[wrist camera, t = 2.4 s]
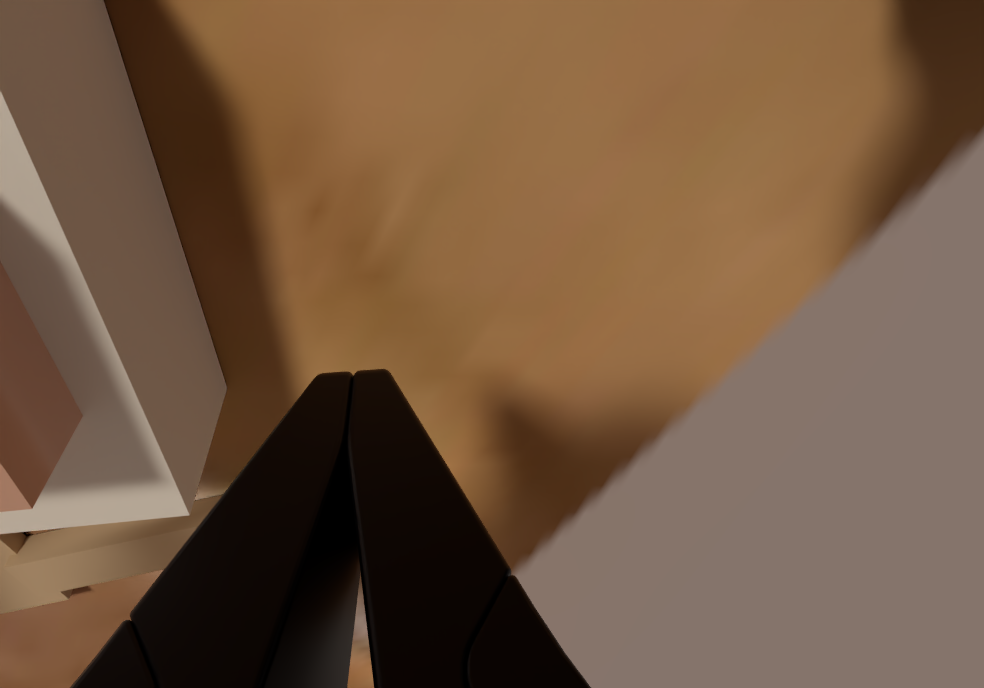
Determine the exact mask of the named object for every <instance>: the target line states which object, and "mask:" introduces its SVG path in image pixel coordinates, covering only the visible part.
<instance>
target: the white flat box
mask: <svg viewBox="0 0 984 688" xmlns="http://www.w3.org/2000/svg"><path fill="white" fill-rule="evenodd" d="M0 261H1V263H2V265H3V267H4V269H5V271H6V273H7V274H8V276H9V278H10V280H11V282H12V284H13V286H14V288H15V289H16V291H17V293H18V295H19V297H20V299H21V301H22V303H23V304H24V306H25V308H26V310H27V312H28V314H29V316H30V318H31V319H32V321H33V323H34V325H35V327H36V329H37V331H38V333H39V334H40V336H41V338H42V340H43V342H44V344H45V346H46V348H47V349H48V351H49V353H50V355H51V357H52V359H53V361H54V363H55V364H56V366H57V368H58V370H59V372H60V374H61V376H62V378H63V379H64V381H65V383H66V385H67V387H68V389H69V391H70V393H71V394H72V396H73V398H74V400H75V402H76V404H77V406H78V408H79V409H80V411H81V413H82V415H83V417H82V419H81V421H80V422H79V424H78V426H77V428H76V430H75V432H74V433H73V435H72V437H71V439H70V441H69V443H68V444H67V446H66V448H65V450H64V452H63V454H62V455H61V457H60V459H59V461H58V463H57V465H56V466H55V468H54V470H53V472H52V474H51V476H50V477H49V479H48V481H47V483H46V485H45V487H44V488H43V490H42V492H41V494H40V496H39V497H38V499H37V501H36V503H35V505H34V507H33V508H32V509H26V510H16V511H5V512H0V534H7V533H17V532H27V531H37V530H47V529H57V528H67V527H77V526H87V525H97V524H108V523H118V522H128V521H138V520H148V519H158V518H168V517H178V516H188V515H190V513H191V509H192V506H193V503H194V499H195V496H196V493H197V489H198V486H199V482H200V479H201V476H202V472H203V469H204V465H205V462H206V459H207V455H208V452H209V448H210V445H211V442H212V438H213V435H214V431H215V428H216V425H217V421H218V418H219V414H220V411H221V408H222V404H223V401H224V398H225V394H226V391H227V386H226V383H225V380H224V377H223V373H222V370H221V367H220V364H219V361H218V358H217V355H216V351H215V348H214V345H213V342H212V339H211V336H210V333H209V330H208V326H207V323H206V320H205V317H204V314H203V311H202V308H201V304H200V301H199V298H198V295H197V292H196V289H195V286H194V282H193V279H192V276H191V273H190V270H189V267H188V264H187V260H186V257H185V254H184V251H183V248H182V245H181V242H180V239H179V235H178V232H177V229H176V226H175V223H174V220H173V217H172V213H171V210H170V207H169V204H168V201H167V198H166V195H165V191H164V188H163V185H162V182H161V179H160V176H159V173H158V169H157V166H156V163H155V160H154V157H153V154H152V151H151V148H150V144H149V141H148V138H147V135H146V132H145V129H144V126H143V122H142V119H141V116H140V113H139V110H138V107H137V104H136V100H135V97H134V94H133V91H132V88H131V85H130V82H129V78H128V75H127V72H126V69H125V66H124V63H123V60H122V57H121V53H120V50H119V47H118V44H117V41H116V38H115V35H114V31H113V28H112V25H111V22H110V19H109V16H108V13H107V9H106V6H105V3H104V0H0Z"/></svg>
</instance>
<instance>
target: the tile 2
mask: <svg viewBox="0 0 984 688" xmlns="http://www.w3.org/2000/svg"><path fill="white" fill-rule="evenodd" d="M82 417H83V415H82V413H81V411H80V409H79V408H78V406H77V404H76V402H75V400H74V398H73V396H72V394H71V393H70V391H69V389H68V387H67V385H66V383H65V381H64V379H63V378H62V376H61V374H60V372H59V370H58V368H57V366H56V364H55V363H54V361H53V359H52V357H51V355H50V353H49V351H48V349H47V348H46V346H45V344H44V342H43V340H42V338H41V336H40V334H39V333H38V331H37V329H36V327H35V325H34V323H33V321H32V319H31V318H30V316H29V314H28V312H27V310H26V308H25V306H24V304H23V303H22V301H21V299H20V297H19V295H18V293H17V291H16V289H15V288H14V286H13V284H12V282H11V280H10V278H9V276H8V274H7V273H6V271H5V269H4V267H3V265H2V263H1V261H0V512H5V511H16V510H26V509H32V508H33V507H34V505H35V503H36V501H37V499H38V497H39V496H40V494H41V492H42V490H43V488H44V487H45V485H46V483H47V481H48V479H49V477H50V476H51V474H52V472H53V470H54V468H55V466H56V465H57V463H58V461H59V459H60V457H61V455H62V454H63V452H64V450H65V448H66V446H67V444H68V443H69V441H70V439H71V437H72V435H73V433H74V432H75V430H76V428H77V426H78V424H79V422H80V421H81V419H82Z"/></svg>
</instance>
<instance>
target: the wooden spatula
mask: <svg viewBox="0 0 984 688" xmlns="http://www.w3.org/2000/svg"><path fill="white" fill-rule="evenodd" d="M221 497H222V495H219V496H215V497H210V498H205V499H201V500H196V501H194V503H193V506H192V509H191V513H190V515H188V516H178V517H168V518H158V519H148V520H138V521H128V522H118V523H108V524H97V525H87V526H77V527H69V528H64V529H59V530H54V531H50V532H45V533H40V534H36V535H31V536H25V535H24V534H23V533H22V532H17V533H7V534H0V614H3V613H8V612H12V611H17V610H22V609H26V608H31V607H36V606H40V605H45V604H50V603H54V602H59V601H64V600H68V599H69V598H70V596H71V593H72V591H73V589H75V588H79V587H84V586H89V585H93V584H98V583H103V582H107V581H112V580H117V579H121V578H126V577H131V576H135V575H140V574H145V573H149V572H154V571H159V570H163V569H165V568H166V567H167V565H168V564H169V563H170V562H171V560H172V559H173V558H174V556H175V555H176V554H177V553H178V551H179V550H180V549H181V548H182V546H183V545H184V544H185V542H186V541H187V540H188V539H189V537H190V536H191V535H192V534H193V532H194V531H195V530H196V528H197V527H198V526H199V525H200V523H201V522H202V521H203V519H204V518H205V517H206V516H207V514H208V513H209V512H210V511H211V509H212V508H213V507H214V505H215V504H216V503H217V502H218V500H219V499H220V498H221Z"/></svg>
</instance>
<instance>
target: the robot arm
mask: <svg viewBox="0 0 984 688" xmlns="http://www.w3.org/2000/svg"><path fill="white" fill-rule="evenodd" d="M360 571H361V579H362V588H363V596H364V605H365V613H366V622H367V630H368V638H369V647H370V655H371V664H372V672H373V681H374V688H591V687H590V686H589V684H588V683H587V682H586V680H585V679H584V678H583V676H582V675H581V674H580V672H579V671H578V670H577V669H576V667H575V666H574V665H573V663H572V662H571V660H570V659H569V658H568V656H567V655H566V654H565V653H564V651H563V649H562V648H561V646H560V645H559V643H558V642H557V640H556V639H555V637H554V636H553V634H552V633H551V631H550V630H549V628H548V627H547V625H546V624H545V622H544V621H543V619H542V618H541V616H540V615H539V613H538V612H537V610H536V609H535V607H534V605H533V604H532V602H531V601H530V599H529V597H528V596H527V594H526V592H525V591H524V589H523V588H522V586H521V584H520V583H519V581H518V579H517V578H516V577H515V576H514V575H511V569H510V567H509V565H508V564H507V562H506V561H505V559H504V557H503V556H502V554H501V552H500V551H499V549H498V548H497V546H496V544H495V543H494V541H493V539H492V538H491V536H490V534H489V533H488V531H487V530H486V528H485V526H484V525H483V523H482V521H481V520H480V518H479V517H478V515H477V513H476V512H475V510H474V508H473V507H472V505H471V504H470V502H469V500H468V499H467V497H466V495H465V494H464V492H463V490H462V489H461V487H460V486H459V484H458V482H457V481H456V479H455V477H454V476H453V474H452V473H451V471H450V469H449V468H448V466H447V464H446V463H445V461H444V460H443V458H442V456H441V455H440V453H439V451H438V450H437V448H436V447H435V445H434V443H433V442H432V440H431V438H430V437H429V435H428V433H427V432H426V430H425V429H424V427H423V425H422V424H421V422H420V420H419V419H418V417H417V416H416V414H415V412H414V411H413V409H412V407H411V406H410V404H409V403H408V401H407V399H406V398H405V396H404V394H403V393H402V391H401V389H400V388H399V386H398V385H397V383H396V381H395V380H394V378H393V376H392V375H391V373H390V372H389V371H388V370H386V369H376V370H361V371H357V372H356V373H355V374H354V376H353V375H352V373H350V372H332V373H322V374H319V375H317V376H316V377H315V378H314V379H313V381H312V382H311V383H310V384H309V386H308V387H307V388H306V390H305V391H304V392H303V393H302V395H301V396H300V397H299V398H298V400H297V401H296V402H295V404H294V405H293V406H292V407H291V409H290V410H289V411H288V412H287V414H286V415H285V416H284V418H283V419H282V420H281V421H280V423H279V424H278V425H277V426H276V428H275V429H274V430H273V432H272V433H271V434H270V435H269V437H268V438H267V439H266V440H265V442H264V443H263V444H262V446H261V447H260V448H259V449H258V451H257V452H256V453H255V455H254V456H253V457H252V458H251V460H250V461H249V462H248V463H247V465H246V466H245V467H244V469H243V470H242V471H241V472H240V474H239V475H238V476H237V477H236V479H235V480H234V481H233V483H232V484H231V485H230V486H229V488H228V489H227V490H226V491H225V493H224V494H223V495H222V497H221V498H220V499H219V500H218V502H217V503H216V504H215V505H214V507H213V508H212V509H211V511H210V512H209V513H208V514H207V516H206V517H205V518H204V519H203V521H202V522H201V523H200V525H199V526H198V527H197V528H196V530H195V531H194V532H193V534H192V535H191V536H190V537H189V539H188V540H187V541H186V542H185V544H184V545H183V546H182V548H181V549H180V550H179V551H178V553H177V554H176V555H175V556H174V558H173V559H172V560H171V562H170V563H169V564H168V565H167V567H166V568H165V569H164V570H163V572H162V573H161V574H160V576H159V577H158V578H157V579H156V581H155V582H154V583H153V584H152V586H151V587H150V588H149V590H148V591H147V592H146V593H145V595H144V596H143V597H142V599H141V600H140V601H139V602H138V604H137V605H136V606H135V607H134V609H133V610H132V611H131V613H130V618H131V620H132V621H130V620H125V621H123V622H122V623H121V625H120V626H119V627H118V629H117V630H116V631H115V632H114V634H113V635H112V636H111V637H110V639H109V640H108V641H107V643H106V644H105V645H104V646H103V648H102V649H101V650H100V651H99V653H98V654H97V655H96V657H95V658H94V659H93V660H92V662H91V663H90V664H89V665H88V666H87V668H86V669H85V670H84V671H83V673H82V674H81V675H80V676H79V677H78V679H77V680H76V681H75V682H74V683H73V685H72V686H71V687H70V688H347V683H348V675H349V666H350V657H351V648H352V640H353V631H354V622H355V614H356V605H357V596H358V587H359V579H360Z"/></svg>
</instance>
